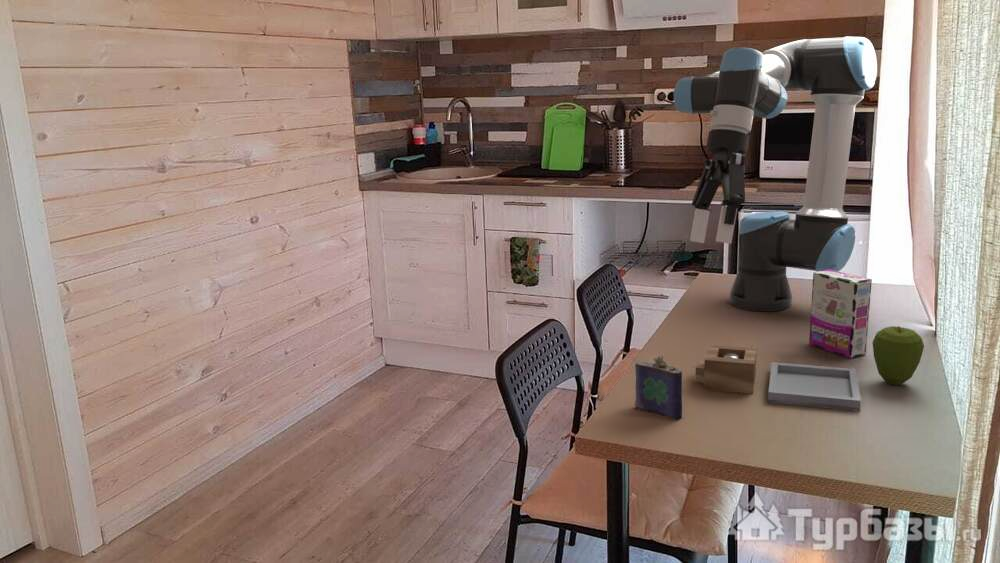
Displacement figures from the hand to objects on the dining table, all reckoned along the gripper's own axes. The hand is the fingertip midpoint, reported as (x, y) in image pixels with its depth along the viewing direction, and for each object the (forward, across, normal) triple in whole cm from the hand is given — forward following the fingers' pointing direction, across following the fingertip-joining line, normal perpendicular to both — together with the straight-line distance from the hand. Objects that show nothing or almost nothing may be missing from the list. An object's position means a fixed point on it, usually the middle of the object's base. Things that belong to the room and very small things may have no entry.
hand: (709, 242), depth 152 cm
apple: (+21, +6, +39) cm, 44 cm away
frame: (+26, -1, +10) cm, 28 cm away
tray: (+24, +6, +23) cm, 34 cm away
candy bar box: (+17, -13, +37) cm, 43 cm away
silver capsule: (+26, -1, +10) cm, 28 cm away
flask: (+32, +9, -7) cm, 34 cm away
